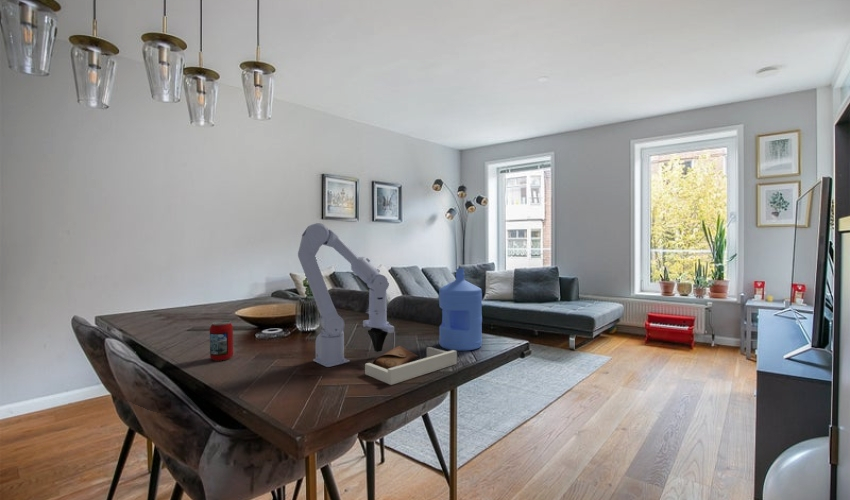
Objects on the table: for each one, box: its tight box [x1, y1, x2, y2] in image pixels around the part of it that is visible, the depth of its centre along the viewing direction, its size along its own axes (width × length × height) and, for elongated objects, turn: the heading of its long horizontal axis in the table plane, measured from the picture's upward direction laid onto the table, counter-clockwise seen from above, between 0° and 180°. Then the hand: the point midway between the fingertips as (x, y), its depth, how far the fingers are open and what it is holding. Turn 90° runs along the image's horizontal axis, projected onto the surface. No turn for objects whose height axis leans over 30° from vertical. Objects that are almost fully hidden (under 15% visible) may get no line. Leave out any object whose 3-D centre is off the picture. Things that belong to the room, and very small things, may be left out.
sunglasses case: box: [372, 344, 419, 370], centre depth 126 cm, size 18×7×7 cm
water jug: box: [438, 268, 483, 352], centre depth 145 cm, size 16×16×28 cm
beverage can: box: [209, 320, 234, 362], centre depth 131 cm, size 7×7×12 cm
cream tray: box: [364, 346, 458, 386], centre depth 120 cm, size 12×26×4 cm, turn 133°
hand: (378, 351), depth 132 cm, fingers closed
